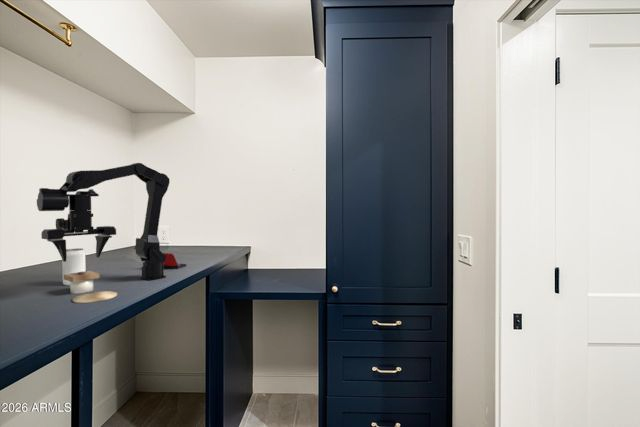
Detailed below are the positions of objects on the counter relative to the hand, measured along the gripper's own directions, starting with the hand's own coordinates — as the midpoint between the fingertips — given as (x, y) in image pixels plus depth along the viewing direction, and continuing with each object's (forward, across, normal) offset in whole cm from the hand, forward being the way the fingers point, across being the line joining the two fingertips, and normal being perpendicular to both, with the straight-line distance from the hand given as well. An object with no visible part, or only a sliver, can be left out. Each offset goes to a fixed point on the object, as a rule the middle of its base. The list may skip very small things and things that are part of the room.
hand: (81, 259), depth 105 cm
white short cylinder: (+10, 0, 0) cm, 10 cm away
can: (+10, -3, -14) cm, 18 cm away
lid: (+6, 0, 0) cm, 6 cm away
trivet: (+10, +1, +12) cm, 16 cm away
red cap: (+11, -38, -14) cm, 42 cm away
